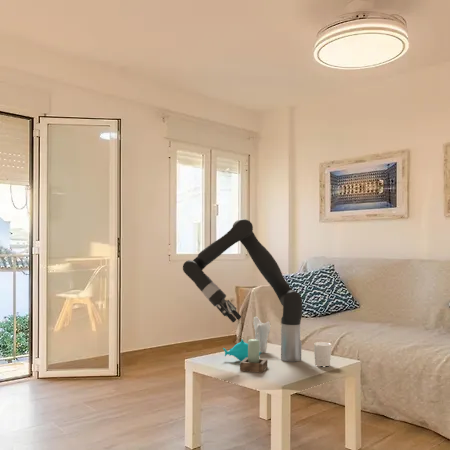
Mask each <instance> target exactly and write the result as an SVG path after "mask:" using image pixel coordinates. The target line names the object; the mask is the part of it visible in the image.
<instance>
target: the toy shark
mask: <svg viewBox="0 0 450 450" xmlns="http://www.w3.org/2000/svg"><path fill="white" fill-rule="evenodd" d="M222 350H223V351H224V357H226V356H227V355H229V356H233V357H234V358H236V359H237V360H238V361H240V362H241V361H242V360H244V359H245V358H246V357H247V358H248V342H245V341H244V339H242V338H241V340H240V342H238V343H236V344H235V345H234V346H232V348H229V350H227V349H226V348H224V347H222ZM261 354H262V353H261V352H260V350H259V357H260V356H261Z"/></svg>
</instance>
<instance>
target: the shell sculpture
mask: <svg viewBox="0 0 450 450" xmlns="http://www.w3.org/2000/svg"><path fill="white" fill-rule="evenodd" d="M252 324H253V328H254V332H255V333H254V339H256V340H259V350H260V352H261V353H260V354H264V353H266V352H267V347H268V337H269V335H270V332H271V322H270V320H267V321H266V322H262V321H261V320H260V318H259V316H254V317H253V321H252Z"/></svg>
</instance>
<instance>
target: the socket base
mask: <svg viewBox="0 0 450 450" xmlns="http://www.w3.org/2000/svg"><path fill="white" fill-rule="evenodd" d="M266 369H268V358H259V363H251V362H248V358H247V357H246V358H245V359H244V360H242V361H241V360H240V362H239V371H240V372H241V371H243V372H253V373H264V372H265V370H266Z"/></svg>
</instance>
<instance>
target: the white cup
mask: <svg viewBox="0 0 450 450" xmlns="http://www.w3.org/2000/svg"><path fill="white" fill-rule="evenodd" d="M313 346H314V347H313V351H314V354H313V355H314V365H315V366H316V365H317V366H316V367H318V366H329V367H331V361H332V360H331V359H332V358H331V357H332V343H330V342H326V341H316V342H314V343H313Z"/></svg>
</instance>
